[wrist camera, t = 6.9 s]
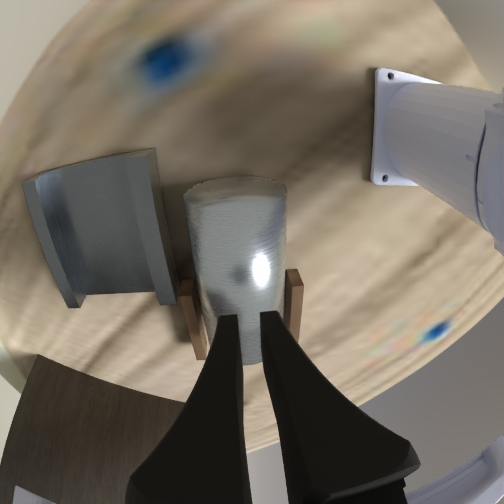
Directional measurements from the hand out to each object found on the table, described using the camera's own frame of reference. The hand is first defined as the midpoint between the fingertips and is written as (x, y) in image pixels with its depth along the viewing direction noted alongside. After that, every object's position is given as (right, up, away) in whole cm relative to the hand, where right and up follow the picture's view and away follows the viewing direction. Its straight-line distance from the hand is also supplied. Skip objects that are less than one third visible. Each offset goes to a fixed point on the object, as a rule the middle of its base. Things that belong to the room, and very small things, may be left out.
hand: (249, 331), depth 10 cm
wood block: (-19, -23, +23) cm, 37 cm away
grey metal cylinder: (-1, +3, +9) cm, 10 cm away
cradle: (-10, +4, +7) cm, 13 cm away
